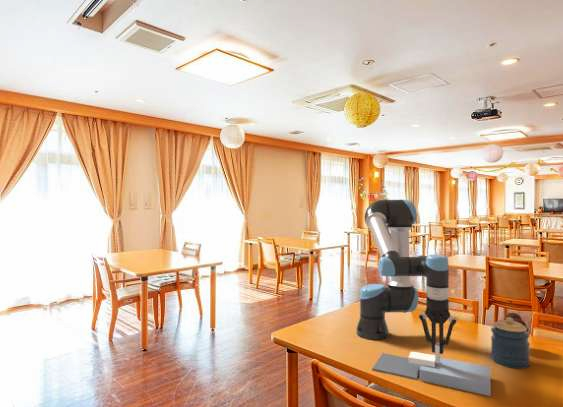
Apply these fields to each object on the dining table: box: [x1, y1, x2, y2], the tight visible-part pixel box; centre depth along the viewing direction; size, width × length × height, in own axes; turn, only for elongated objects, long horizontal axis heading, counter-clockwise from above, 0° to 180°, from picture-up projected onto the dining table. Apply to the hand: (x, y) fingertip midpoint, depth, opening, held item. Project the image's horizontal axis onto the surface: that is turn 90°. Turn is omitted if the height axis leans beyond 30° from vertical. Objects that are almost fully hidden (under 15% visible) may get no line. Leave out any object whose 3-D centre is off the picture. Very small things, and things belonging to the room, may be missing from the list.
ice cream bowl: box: [502, 312, 529, 334], centre depth 157 cm, size 11×11×15 cm
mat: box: [371, 352, 421, 380], centre depth 141 cm, size 16×16×1 cm
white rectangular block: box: [407, 351, 436, 367], centre depth 136 cm, size 9×6×2 cm, turn 61°
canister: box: [490, 317, 531, 369], centre depth 144 cm, size 13×13×18 cm
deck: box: [418, 357, 492, 397], centre depth 130 cm, size 22×14×4 cm, turn 61°
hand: (437, 361), depth 133 cm, fingers closed
